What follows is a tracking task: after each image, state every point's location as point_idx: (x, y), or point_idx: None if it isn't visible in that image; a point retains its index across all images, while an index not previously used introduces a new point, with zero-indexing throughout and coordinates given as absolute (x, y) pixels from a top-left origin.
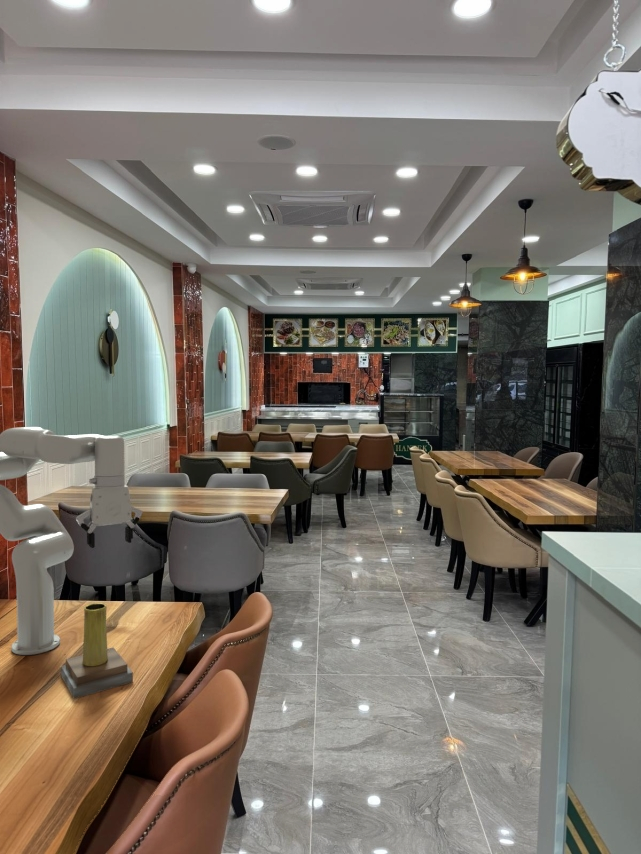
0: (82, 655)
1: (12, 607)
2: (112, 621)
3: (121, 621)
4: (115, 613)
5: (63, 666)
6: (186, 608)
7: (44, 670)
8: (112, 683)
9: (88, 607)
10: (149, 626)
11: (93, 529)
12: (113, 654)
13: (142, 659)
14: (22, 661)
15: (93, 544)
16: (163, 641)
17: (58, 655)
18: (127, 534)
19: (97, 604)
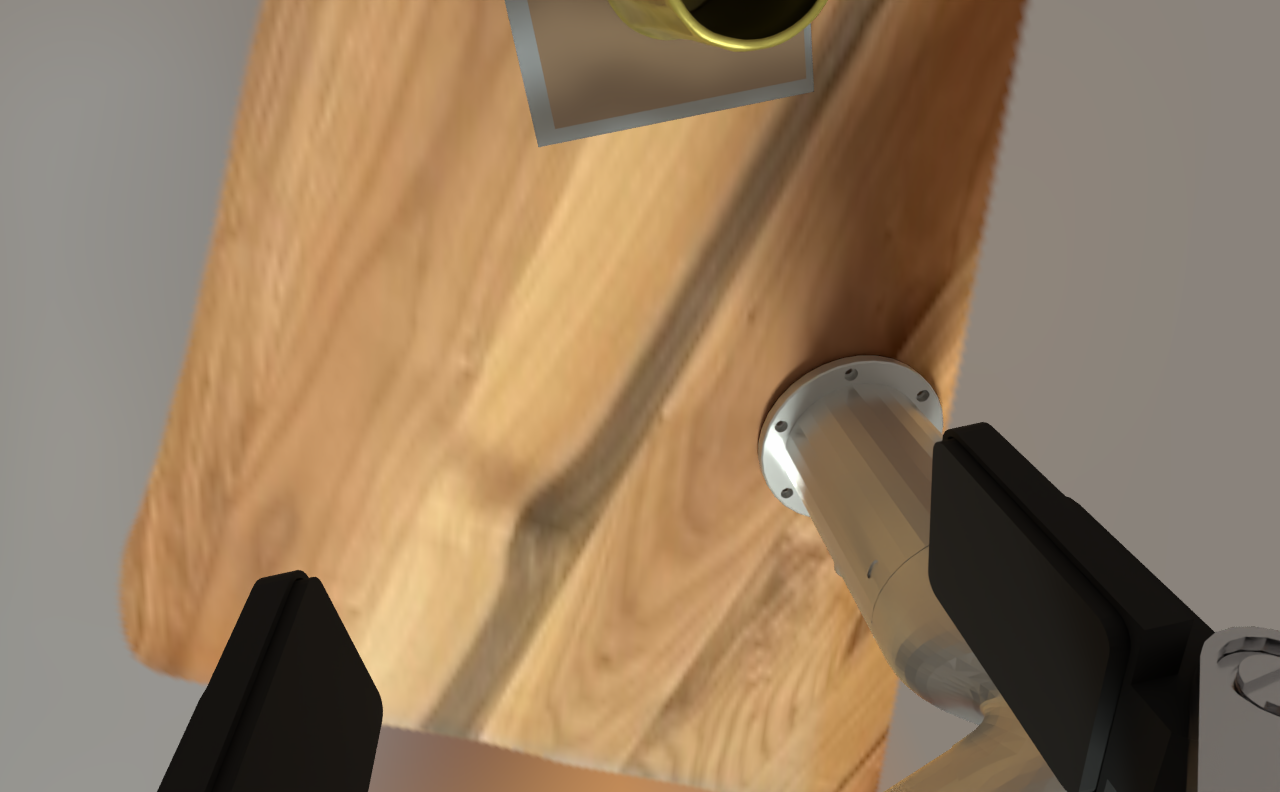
0: (723, 87)
1: (866, 768)
2: (532, 576)
3: (493, 566)
4: (516, 646)
5: (804, 80)
6: (179, 622)
7: (853, 180)
8: None
9: (792, 23)
10: (364, 481)
11: (1225, 728)
12: (561, 18)
13: (402, 102)
14: (916, 310)
15: (988, 458)
16: (288, 287)
17: (779, 314)
18: (299, 745)
19: (718, 39)
